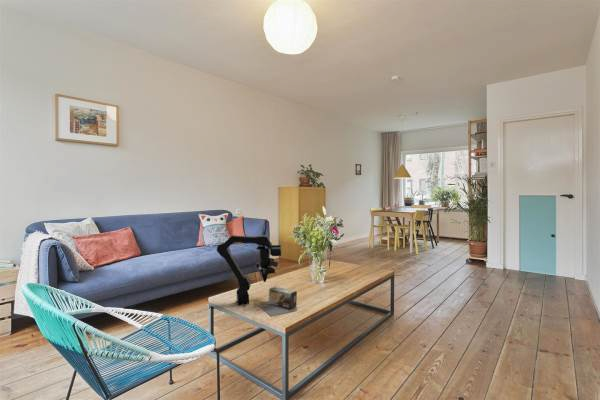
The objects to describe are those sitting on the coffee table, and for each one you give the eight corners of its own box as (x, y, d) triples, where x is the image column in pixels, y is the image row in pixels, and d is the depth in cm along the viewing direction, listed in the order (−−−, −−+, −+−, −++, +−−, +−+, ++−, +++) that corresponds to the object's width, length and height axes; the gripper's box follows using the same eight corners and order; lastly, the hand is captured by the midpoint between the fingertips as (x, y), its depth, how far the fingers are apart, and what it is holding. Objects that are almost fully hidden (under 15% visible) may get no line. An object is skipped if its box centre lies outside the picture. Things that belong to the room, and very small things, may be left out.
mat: (270, 316, 163) (270, 316, 163) (259, 306, 177) (259, 305, 177) (296, 310, 170) (296, 310, 170) (284, 301, 184) (284, 301, 184)
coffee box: (274, 300, 185) (296, 306, 176) (268, 303, 180) (290, 310, 171) (275, 285, 185) (297, 291, 176) (268, 288, 180) (290, 294, 171)
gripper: (283, 257, 178) (283, 283, 179) (270, 252, 194) (270, 276, 195) (265, 260, 173) (265, 287, 173) (254, 253, 189) (254, 278, 190)
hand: (264, 281), depth 183 cm, fingers closed
